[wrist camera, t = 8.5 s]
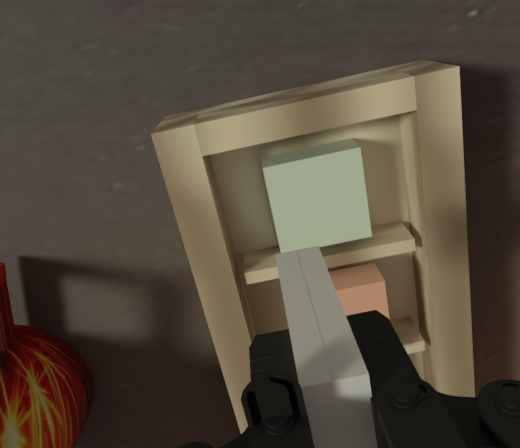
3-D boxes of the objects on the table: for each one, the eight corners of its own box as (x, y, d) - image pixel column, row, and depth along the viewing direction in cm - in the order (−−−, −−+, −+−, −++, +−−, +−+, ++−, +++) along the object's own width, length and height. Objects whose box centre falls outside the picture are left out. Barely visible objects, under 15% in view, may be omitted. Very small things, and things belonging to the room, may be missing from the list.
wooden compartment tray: (273, 498, 37) (277, 557, 33) (165, 116, 26) (150, 134, 22) (453, 465, 37) (480, 521, 33) (423, 59, 25) (459, 66, 21)
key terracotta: (302, 351, 28) (306, 374, 26) (286, 280, 26) (290, 299, 24) (384, 335, 28) (394, 357, 26) (374, 262, 26) (384, 280, 24)
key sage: (278, 239, 27) (281, 255, 25) (260, 157, 25) (262, 168, 23) (363, 222, 27) (372, 236, 25) (351, 138, 25) (360, 146, 23)
